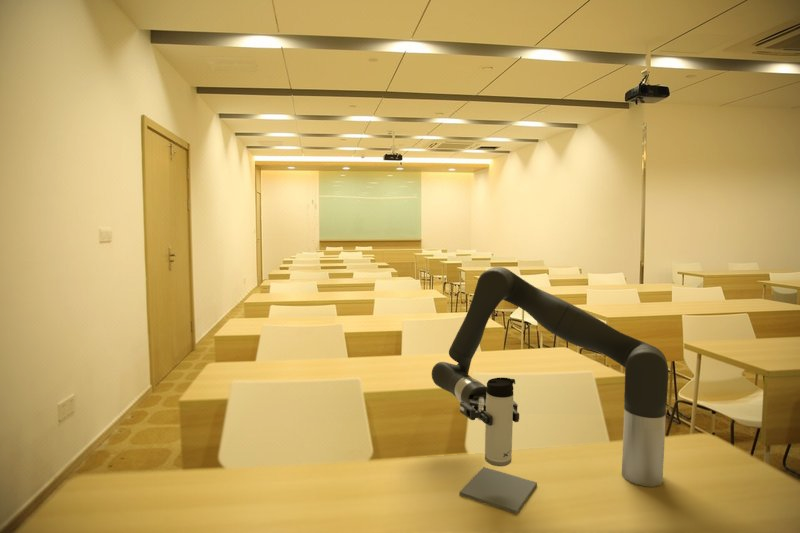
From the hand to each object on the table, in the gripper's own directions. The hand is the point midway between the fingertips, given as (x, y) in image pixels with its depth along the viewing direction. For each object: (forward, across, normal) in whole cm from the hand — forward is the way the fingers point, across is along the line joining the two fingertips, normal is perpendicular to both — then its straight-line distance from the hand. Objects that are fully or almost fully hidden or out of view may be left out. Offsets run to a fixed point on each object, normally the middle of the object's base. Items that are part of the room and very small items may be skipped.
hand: (504, 419), depth 112 cm
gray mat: (-2, 0, +18) cm, 19 cm away
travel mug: (-2, 0, +11) cm, 12 cm away
